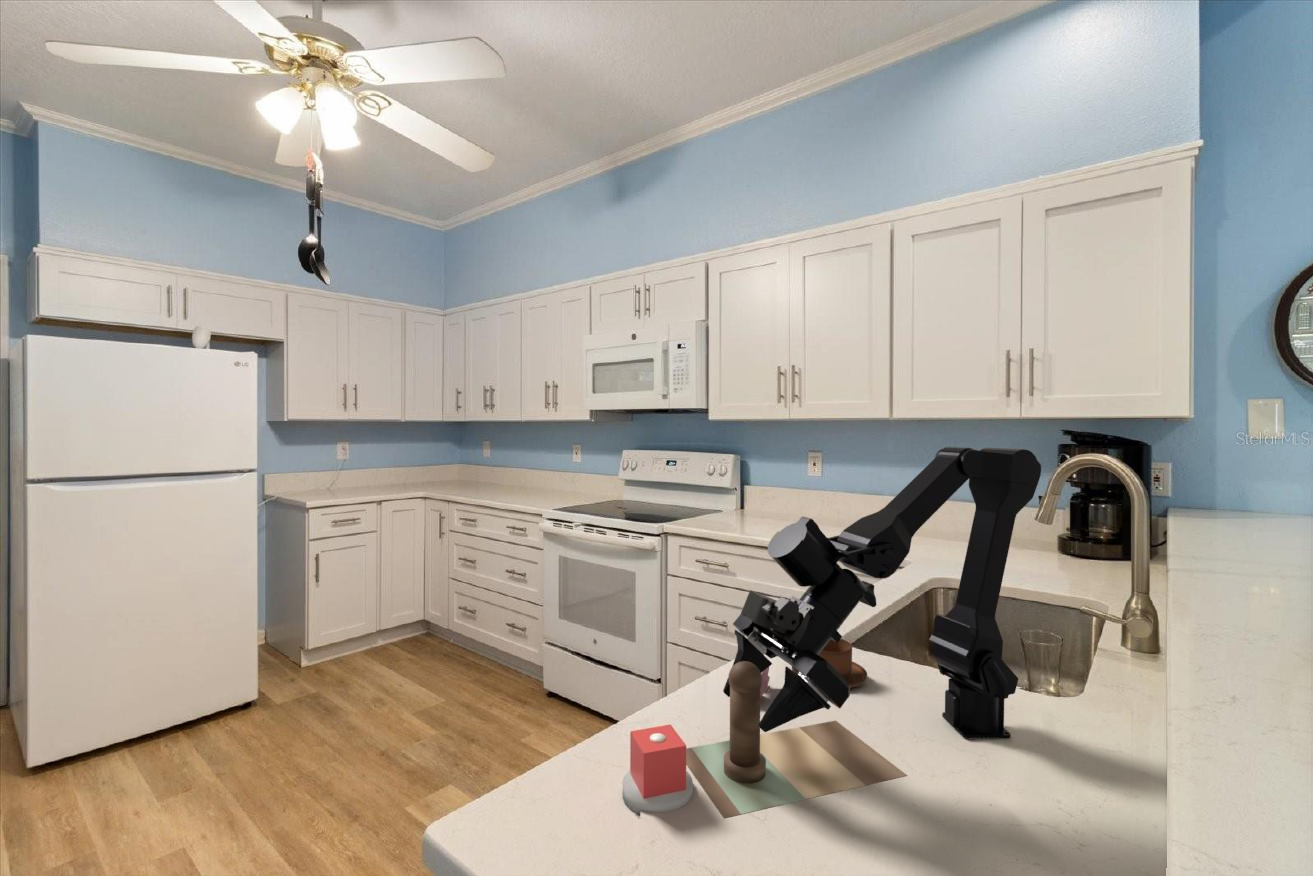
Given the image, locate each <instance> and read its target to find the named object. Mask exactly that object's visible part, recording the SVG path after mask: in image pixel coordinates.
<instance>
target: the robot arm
mask: <svg viewBox="0 0 1313 876" xmlns="http://www.w3.org/2000/svg"><path fill="white" fill-rule="evenodd" d="M1041 475H1042V465H1041V463H1040V462H1039V461H1038V459H1037V457H1036V455H1035V453H1033V451H1030V450H1029V449H1024V448H1003V447H1002V448H1000V447H999V448H998V447H984V448H981V449H980V450H977V449H974V448H971V447H962V446H946V447H944V448H941V449H939V450H938V451H937V452H936V454H935V456H934V459H932V460H931V462H930V463H929V464H928V465H926V466H925V468H923V469H922V470H921V471H920V472H919V473H918V474H917V475H916V476H915V477H914V478H913V479H912V480H911V481H910V482H909V483H908V484H907V485H906V486H905V487H904V488H903V489H902V490H901V491H899V493H898V494H897V495H896V496H895V497H893V498H892V499H891V500H890V502H888V504H886V505H885V506H884V507H882V508H881V509H880V510H879V511H876V512H873V513H871V514H869V515H865V516H862V517H860V518H859V519H857V520H856V521H855V522H853V523H852V524H850V525H849V526H848V527H846V528H844V529H843V530H842V531H841V533H840V534H839V535H834V536H830V537H827V536H826V535H825V533H823V532H822V530H821V529H820V527H819V525H818V524H817V522H815V520H814V519H813V518H810V517H806V516H801V517H800V518H799V519H798V520H797V522H795V523H791V524H789V525H786V526H785V527H784V528H782V529H781V530H780V531H779V530H778V531H777V532H776V533H775V534H774V535H773V536H772V538H771V539H770V540H769V543H768V546H767V554H768V555H769V557H770V558H772V559H773V561H774V562H775V563H776V564H778V566H779V567H780V568H781V569H782V570H783V571H784V572H785V573H786V574H787V576H789V577H790V579H792V581H794V582H795V583H796V585H798V586H799V587H802V588H803V587H804V588H805V587H808V588H807V589H806V591H805V592H804V593H803V594H802V595H801V596H800V598H799V599H798V598H796V597H795V596H792V597H788V598H786V597H783V596H780V598H779V599H778V600H776V599H774V598H771V597H769V596H766V595H764V594H761V593H759V592H757V591H754V590H752V589H749V592H748V595H747V596H746V599H745V602H744V605H743V607H742V609H741V612H740V615H738V617H737V618H736V619H735V621H734V622H733V623H732V625H733V626H734V627H735V628H736V629H734V635H735V636H736V637H735V638H736V644H737V650H736V651H737V652H736V655H735V657H734V661H733V664H732V667H733V666H734V665H735V664H736V663H738V662H741V661H748V662H751V663H753V664H754V665H756V666H757V667H758V669H759V670H760V672H761V673H762V672H763V671H764V670H766V669H767V668H768V667H769V668H770V666H772V665H773V663H772V661H770V660H769V659H773V658H776V657H778V658H780V659H781V660H783V661H784V662H786V663H787V664H788V665H789V666H791V667H792V666H793V667H794V668H795V669H796V670H798V671H799V673H798V674H797V673H795V672H794V671H792V668H790V667H789V666H787V665H786V666H785V667H784V669H785V670H784V684H783V686H782V688H781V689H780V690H779V692H778V693H777V695H776V696H775V697H774V699H773V701H772V702H771V704H770V705H769V707H768V708H767V709H766V711H765V713H764V715H763V716H762V718H760V723H759V727H760V730H762V732H764V733H768V732H769V731H771V730H773V729H776V728H778V727H780V726H782V725H785V724H786V723H789V722H790V721H793V720H795V719H797V718H799V717H802V716H805V715H807V714H811V713H813V712H816V711H818V710H820V709H821V710H822V709H825V710H828V711H829V710H830V709H831V707H832V706H831V705H830V704H829V702H830V703H831V704H832V705H833V706H835V707H837V708H838V709H839V710H840V709H841V708H842V707H843V705H844V704H845V703H846V701H847V700H848V698H850V696H851V695H850V694H851V689H850V684H849V683H848V682H847V681H846V680H845V679H844V678H843V677H842V676H841V675H840V674H839V673H838V672H837V671H836V670H835V669H834V668H833V667H832V666H831V665H830V664H829V663H828V662H827V660H825V659H823V658H822V657H820V656H819V654H820V652H821V651H822V650H823V648H824V647H825V646H826V644H827V643H828V642H829V641H830V639H831V640H833V641H835V642H837V643H838V642H839V640H840V639H843V636H842V634H841V633H839V629H840V628H841V626H842V625H843V623H844V622H845V621H846V620H847V618H848V617H849V616H850V614H851V613H852V612H853V611H854V609H855V608H856V607H857V606H858V604H859V603H862V604H865V605H866V606H869V607H872V608H876V606H877V598H876V595H875V585H874V583H873V584H872V583H869V582H868V581H864V580H861V578H859V577H858V575H856V573H855V572H857V573H860V574H863V575H866V576H868V577H872V578H874V579H888V578H890V577H891V576H892V575H894V574H895V573H896V572H897V570H898V569H899V567H900V566H901V564H902V563H904V561H905V559H906V558H907V556H908V555H909V553H910V550H911V545H912V539H913V537H914V535H915V534H916V533H917V531H918V530H920V528H921V527H923V525H925V523H926V522H927V521H929V520H930V518H932V517H933V516H934V514H935V513H936V512H938V510H939V509H940V508H942V506H944V504H946V502H947V501H948V500H949V499H950V498H951V497H952V496H953V495H954V494H956V492H957V491H958V490H959V489H960V488H961V487H962V486H963V485H964V484H965V483H966V482H967V481H968V487H969V491H970V493H971V494H970V495H971V497H972V500H973V501H974V503H975V511H974V516H973V520H972V524H971V527H970V528H971V529H970V533H969V534H970V535H969V539H968V543H967V547H966V554H965V558H964V561H963V562H964V563H963V567H962V571H961V575H960V581H959V586H958V590H957V594H956V600H955V603H954V605H953V607H952V608H951V609H949V611H948V612H947V613H946V614H945V615H943V614H939V613H937V614H936V615H935V617H934V619H933V631H932V633H931V636H930V637H929V638H928V642H929V643H931V647H930V648H931V649H930V651H931V656H933V657H934V660H935V661H936V663H937V664H936V665H937V667H938V670H939V674H940V675H942V676H945V677H947V678H948V687H947V689H945V692H944V711H943V712H942V715H941V716H942V718H944V720H945V721H946V722H947V723H948V724H950V726H951V727H952V728H953V729H954V730H955V731H956V732H957V733H958V734H959V735H961V737H963V738H965V739H1011V738H1012V734H1011V732H1009V730H1008V729H1006V728H1005V699H1009V696H1010V695H1014V694H1016V689H1017V688H1018V682H1019V678H1018V676H1017V675H1016V674H1015V673H1014V672H1013V670H1012V669H1011V668H1010V667H1009V666H1008V665H1007V664H1006V663H1005V661H1004V660H1003V659H1002V658H1003V644H1004V640H1003V636H1002V634H1001V632H1000V629H999V625H998V623H997V621H996V612H997V609H998V603H999V599H1000V593H1001V589H1002V583H1003V578H1004V575H1005V569H1006V564H1007V561H1008V555H1009V549H1010V547H1011V546H1010V545H1011V541H1012V536H1013V531H1014V525H1015V523H1016V522H1015V520H1016V517H1017V515H1018V514H1019V513H1020V512H1021V511H1022V509H1024V507H1026V505H1027V504H1028V503H1030V502H1031V501H1032V499H1033V498H1034V495H1035V493H1036V490H1037V487H1038V485H1039V481H1040V478H1041ZM838 562H840V563H841V565H843V566H844V567H845V568H842V567H841V566H840V564H838ZM854 571H855V572H854ZM793 656H794V657H793ZM732 667H731V668H732ZM723 693H724V694H725V695H726V696H727V697H728V698H730V684H729V680H728V678H727V679H726V682H725V685H724V688H723Z"/></svg>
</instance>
